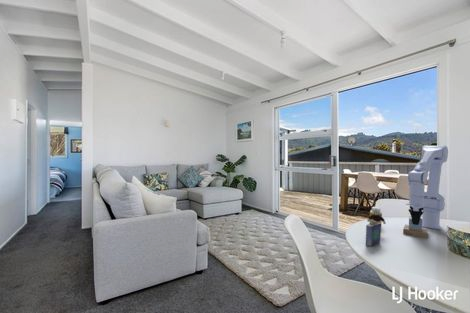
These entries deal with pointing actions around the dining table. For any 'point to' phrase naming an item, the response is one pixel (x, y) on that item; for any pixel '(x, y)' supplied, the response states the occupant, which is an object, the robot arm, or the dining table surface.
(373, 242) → the flask
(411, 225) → the slate cube
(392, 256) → the dining table surface
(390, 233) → the dining table surface
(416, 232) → the walnut block
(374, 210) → the grandmother figurine
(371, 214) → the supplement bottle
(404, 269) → the dining table surface
